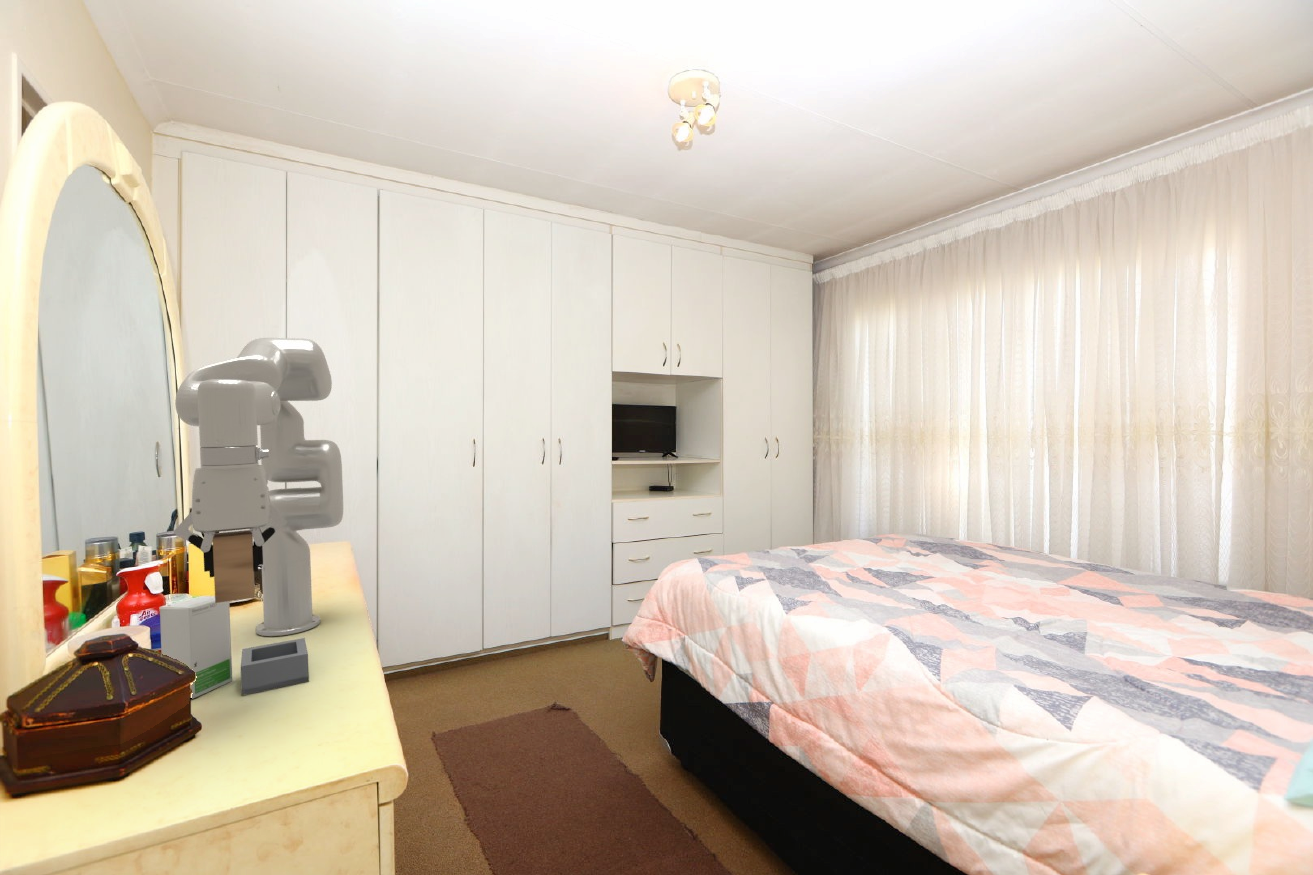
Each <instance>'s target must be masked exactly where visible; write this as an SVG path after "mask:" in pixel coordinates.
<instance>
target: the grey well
mask: <svg viewBox="0 0 1313 875" xmlns="http://www.w3.org/2000/svg"><path fill="white" fill-rule="evenodd" d="M240 659H241V660H240V687H241V696H242V697H243V696H246V695H251V694H256V693H261V692H266V691H270V690H275V689H279V688H280V689H281V688H284V687H285V688H286V687H289V686H293V685H299V684H303V683H308V682H310V675H309V674H310V673H309V653H308V647H307V642H306V637H301V638H297V639H291V640H285V641H279V642H273V643H268V644H262V645H258V646H252V647H247V648H242V649H241V658H240Z"/></svg>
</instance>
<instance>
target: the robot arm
mask: <svg viewBox="0 0 1313 875" xmlns="http://www.w3.org/2000/svg"><path fill="white" fill-rule="evenodd" d="M332 380H333V379H332V375H331V371H330V368H329V365H328V362H327V359H326V355H325V354H324V352H323V350H322V348H321V347H320V345H319V344H318V343H317V342H316V341H314V340H312V339H309V338H295V337H294V338H293V337H292V338H290V337H289V338H287V337H285V338H284V337H282V338H281V337H259V338H255V339H253V340H251V341H249V342H248V343H246V345H245V346H244V347H243V348H242V349H241V351H240V353H238V356H237V357H236V358H235V357H234V358H231V359H227V360H224V361H220V362H217V363H213V364H210V365H209V364H208V365H206V366H203V367H200V368H197V369H195V370H193V371H192V372H191V373H189V374H188V375H187V376H186V377H185V379H184V380H183V381H182V383H180V385H179V386H178V387H179V388H178V390H177V392H176V396H175V400H174V401H175V403H174V404H175V410H176V413H177V415H178V417H179V418H180V420H181V421H182V422H183V423H185V424H186V425H189V426H193V427H198V428H199V429H198V433H199V454H200V455H199V456H200V459H199V460H200V467H196V468H194V474H193V482H192V491H191V492H192V494H191V511H190V512H189V513H188V514H187V515H186V517H185V518H184V519H183V520H182V521H181V523H180V524H179V525H178V526H177V527H176V528H175V529H174V531H173V534H174V535H175V536H177V537H178V538H179V537H180V538H181V539H183V540H184V541H187V542H189V543H190V544H191V545H193V546H195V547H196V548H198V550H200V552H202V553H203V570H204V572H209V578H214V559H213V537H214V535H215V533H222V532H233V531H243V530H250V531H251V533H252V536H253V571H254V573H257V572H259V566H261V580H262V584H261V585H262V607H263V622H261V623H259V624H257V626H255V633H256V634H257V635H259V636H262V637H280V636H287V635H294V634H298V633H302V632H305V631H308V630H310V629H311V630H312V629H313V628H315V627H317V626H318V625H320V624H321V617H320V615H318V614H313V598H312V597H313V596H312V569H311V568H312V567H311V549H310V545H309V544H308V542H307V541H306V540H305V539H304V538H303V536H301V535H300V534H299V533H298V531H303V530H314V529H316V530H317V529H326V528H328V529H329V528H333V527H336V526H338V525H340V524H341V522H342V520H343V516H344V490H343V488H344V487H343V464H342V455H341V452H340V448H339V446H338V445H337V444H336V443H335V442H334V441H332V440H327V439H308V440H307V439H306V437H305V426H304V425H305V422H304V418H303V416H302V415H301V413H300V412H299V410H298V409H297V408H296V407H295V406H293V404H291V402H304V401H306V402H317V401H322V400H325V399H327V398H329V396H330V394H331V392H332V385H333V382H332ZM258 426H259V427H260V428H259V429H260V447H259V446H258V444H259V442H258V441H259V440H258ZM259 461H260V463H261V464H259ZM269 482H271V483H302V482H304V483H305V482H318V483H319V484H320V486H316V487H315V486H313V487H293V488H292V487H290V488H276V489H272V490H269ZM191 526H192V529H193V531H195V532H198V533H202V534H203V533H204V536H203V537H201V536H200V535H199V534H197V533H194V532H193V531H191V530H190V527H191Z"/></svg>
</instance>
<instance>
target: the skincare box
mask: <svg viewBox="0 0 1313 875" xmlns="http://www.w3.org/2000/svg"><path fill="white" fill-rule="evenodd" d="M158 608H159V609H158V610H159V616H160V617H159V618H160V619H159V620H160V621H159V622H160V623H159V624H160V645H161V646H160V647H161V648H160V650H161V651H160V652H161V655H162V654H163V655H167V656H169V657H171V658H173V659H177V660H179V661H180V662H182V663H184V664H186V665H187V666H188V667H189V668H191V669H193V671H194V672H195V673H196V676H197V678H196V681H195V682H193V684H192V685H191V689H192V693H193V694H192V699H191V700H193V699H195V698H198V697H200V696H202V695H205V694H206V693H209V692H211V691H213V690H215V689H217V688H220V687H222V686H224V685H227V684H229V683H231V682H233V662H232V636H231V614H230V613H231V612H230V611H231V610H230V609H231V608H230V601H227V602H220V603H215V595H200V596H195V597H192V598H187V599H183V600H179V601H176V602H174V603H169V604H165V605H162V606H159V607H158Z"/></svg>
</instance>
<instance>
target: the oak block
mask: <svg viewBox="0 0 1313 875" xmlns="http://www.w3.org/2000/svg"><path fill="white" fill-rule="evenodd" d="M253 541H254V539H253V536H252V533H251V531H250V529H243V530H233V531H222V532H215V535H214V537H213V542H212V545H213V559H214V577H213V579H214V596H215V603H220V602H227V601H229V602H232V601H239V600H245V599H254V598H255V592H256V591H255V590H256V586H255V572H254V571H253Z"/></svg>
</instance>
